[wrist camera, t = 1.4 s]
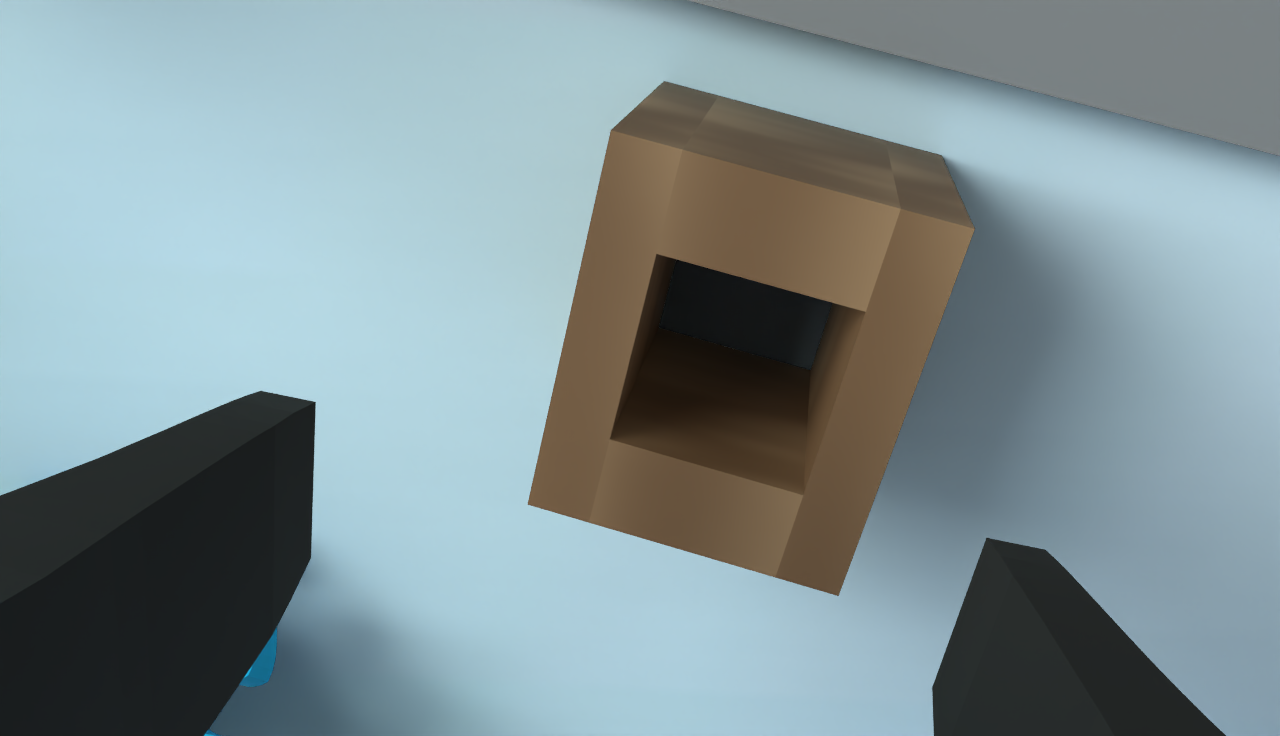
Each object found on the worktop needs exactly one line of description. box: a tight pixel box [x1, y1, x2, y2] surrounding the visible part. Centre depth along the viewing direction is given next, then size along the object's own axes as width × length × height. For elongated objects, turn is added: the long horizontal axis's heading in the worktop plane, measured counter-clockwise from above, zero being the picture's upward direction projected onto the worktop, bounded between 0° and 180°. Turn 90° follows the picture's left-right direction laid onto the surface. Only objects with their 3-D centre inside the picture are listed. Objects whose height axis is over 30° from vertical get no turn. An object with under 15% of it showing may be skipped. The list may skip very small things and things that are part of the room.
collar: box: [528, 81, 975, 596], centre depth 18 cm, size 5×6×5 cm
